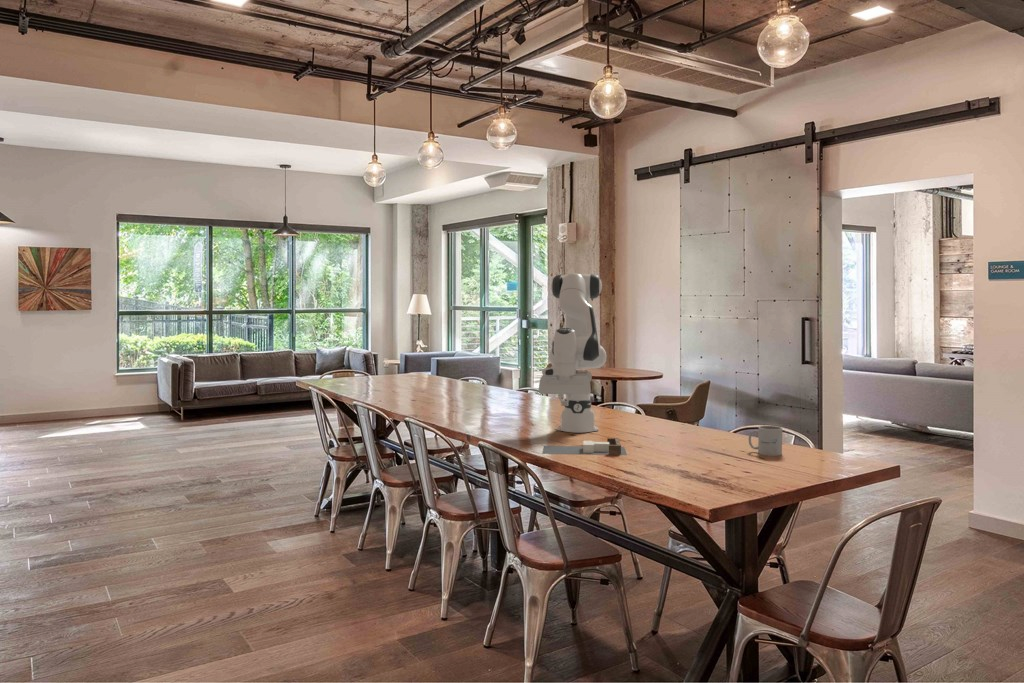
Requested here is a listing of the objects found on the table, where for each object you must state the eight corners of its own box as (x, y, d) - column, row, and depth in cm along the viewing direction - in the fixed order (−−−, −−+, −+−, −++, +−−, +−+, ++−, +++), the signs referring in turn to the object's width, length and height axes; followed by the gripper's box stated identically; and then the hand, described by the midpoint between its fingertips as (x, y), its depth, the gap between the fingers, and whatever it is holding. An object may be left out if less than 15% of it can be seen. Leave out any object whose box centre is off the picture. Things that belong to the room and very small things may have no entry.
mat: (543, 446, 301) (543, 445, 301) (624, 448, 298) (624, 446, 298) (542, 454, 285) (542, 453, 285) (626, 456, 282) (626, 454, 282)
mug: (785, 453, 287) (786, 427, 287) (775, 456, 281) (776, 430, 281) (755, 449, 296) (755, 423, 295) (745, 452, 290) (745, 426, 289)
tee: (583, 448, 296) (583, 440, 296) (608, 448, 295) (608, 440, 295) (583, 452, 287) (583, 444, 287) (609, 453, 286) (609, 445, 286)
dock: (607, 446, 299) (607, 437, 299) (618, 446, 298) (618, 438, 298) (608, 454, 283) (608, 445, 283) (620, 454, 282) (621, 445, 282)
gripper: (591, 369, 293) (591, 404, 294) (539, 369, 295) (539, 403, 296) (591, 371, 287) (591, 407, 288) (538, 370, 288) (538, 406, 290)
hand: (564, 405), depth 292 cm, fingers closed
